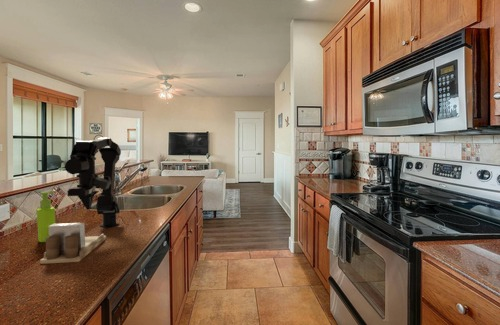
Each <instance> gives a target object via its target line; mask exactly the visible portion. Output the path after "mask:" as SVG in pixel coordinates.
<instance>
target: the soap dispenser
mask: <svg viewBox="0 0 500 325" xmlns="http://www.w3.org/2000/svg"><path fill="white" fill-rule="evenodd" d="M56 193H57V191H51V190H49V191H43V192H39V195H41V196H42V199H41V200H40V201H39V202H40V203H39V204H40V207H39V208H37V209H36V219H37V220H36V221H37V222H36V223H37V238H38V242H40V243H46V240H45V238H46V237H49V226H50V225H52V224H57V223H56V210H55V209H56V208H55V207H54V206H52V204H51V201H52V200H51V199H49V194H56Z"/></svg>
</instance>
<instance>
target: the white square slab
mask: <svg viewBox="0 0 500 325" xmlns="http://www.w3.org/2000/svg"><path fill="white" fill-rule="evenodd" d="M85 232H86V230H85V222H69V223H68V222H66V223H63V222H62V223H56V224H52V225H50V226H49V236H54V235H58V236H59V250H60V254H66V251H65V237H66V236H69V235H78V253H80V251H81V250H82V249H83V248H84V247H85V237H86V234H85Z"/></svg>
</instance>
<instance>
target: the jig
mask: <svg viewBox="0 0 500 325" xmlns="http://www.w3.org/2000/svg"><path fill="white" fill-rule="evenodd" d="M106 239H107V235H105V233H101V234H100V235H99V236H98V235H92V236H85V247H84V248H83V249H82V250H81V251H80V253H78V235H69V236H66V237H65V251H66V254H60V250H59V236H58V235H54V236H49V237H46V238H45V240H46V242H45V252H43V258H41V259H39V264H42V265H43V264H46V265H47V264H57V263H58V264H60V263H61V264H62V263H78V262H80V261H82V260H83V259H84V258H85V257H86V256H88V254H90V253H91V252H92V251H93V250H95V249H96V248H97V247H98V246H99V245H101V243H103V242H104V241H105V240H106Z"/></svg>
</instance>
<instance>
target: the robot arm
mask: <svg viewBox="0 0 500 325" xmlns="http://www.w3.org/2000/svg"><path fill="white" fill-rule="evenodd" d="M97 153H100V157H101V160H102V161H103V163H104V168H103V177H99V174H98V173H96V163H95V162H96V160H97V158H96V154H97ZM121 154H122V150H121V148H120V145H119V144H118V143H116V142H114V141H113V139H112V138H111V137H98V138H95V139H91V140H76V141H75V143H74V145H73V147H72V150H71V153H70V156H69V158H70V159H68V160H67V161H66V162H65V164H64V168H65V171H66V172H67V173H68V174H71V175H76V178H78V184H76V186H75V187H71V188H69V189H68V190H67V197H78V198H79V200H80V201H81V203H82V205H83V206H84V207H85V209H86V210H90V209H92V204H93V200H94V198H95V196H96V195H97V194H98V193H99V191H100V190H101V194H100V195H98V196H97V197H96V198H97V199H96V200H97V201H96V205H95V208H96V212H97V215H102V223H101V224H99V227H103V228H105V229H106V228H111V227H114V226H115V227H116V226H119V225H120V223H119V222H117V214H119V213H120V211H121V206H120V205H119V203H118V201H117V200H118V199H117V196H116V195H115V193H114V190H115V189H114V188H115V175H116V174H115V173H116V164H117V163H118V162H119V160H120V156H121ZM96 189H100V190H96Z"/></svg>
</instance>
